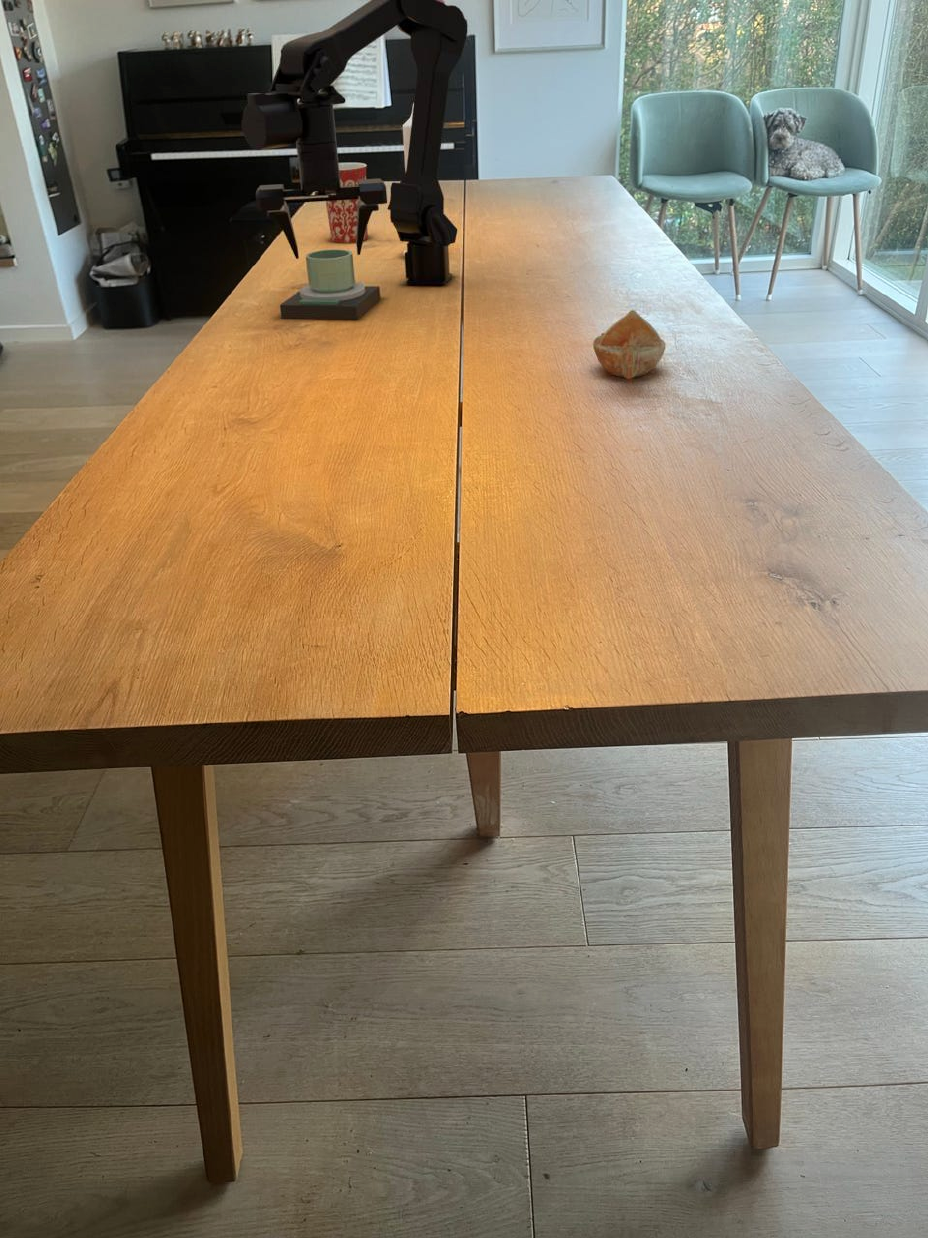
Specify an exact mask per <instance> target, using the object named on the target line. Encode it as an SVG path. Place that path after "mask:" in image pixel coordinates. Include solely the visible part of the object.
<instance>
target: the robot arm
mask: <svg viewBox="0 0 928 1238" xmlns="http://www.w3.org/2000/svg"><path fill="white" fill-rule="evenodd" d="M468 26H469V25H468V20H467V19H466V18H465V15H464V13H463V11H462V10H461V9H460V8H459V7H458V6H456V5H453V4H449V5H447V4H446V3H444V2H442V1H439V0H369V1H367V2H366V3H364V4H363V5H362V6H360V7H359V8H357V9H356V10H355V11H353V12H351V13H350V14H348V15H347V16H346V17H344V18H342V19H341V20H339V21H338V22H337V23H335V24H334V25H332V26H331V27H329V28H327V29H324V30H322V31H318V32H314V33H310V34H306V35H303V36H300V37H298V38H295V39H292V40H289V41H288V42H286V43H284V45H283V46H282V48H281V49H280V57H279V65H278V67H277V69H276V72H275V74H274V77H273V79H272V81H271V84H270V86H269V88H268V91H267V93H259V92H253V93H252V92H251V93H247V95H246V97H247V104H246V105H245V106H244V110H243V113H242V120H241V128H242V133H243V136H244V138H245V140H246V142H247V143H248V145H249V146H250V147H251V148H252V149H253V150H256V151H262V150H269V149H276V148H277V149H278V148H284V147H289V146H294V145H295V144H296V145H295V146H296V154H297V157H296V156H295V157H289V158H288V160H289V170H290V179H291V183H300V188H296V189H295V188H294V189H285V187H284V184H283V183H279V184H278V183H276V184H261V185H260V184H259V187H258V188H257V189H256V192H255V201H256V209H257V212H266V213H267V217H268V218H274V219H275V220H276V222H277V224H278V226H279V227H280V228H281V230H282V232H283V234H284V235H285V238H286V240H287V242H288V244H289V246H290V248H291V250H292V253H293V256H294V258H295V259H296V260H299V259H300V256H299V248H298V243H297V240H296V239H297V237H296V233H295V229H294V227H293V222H292V218H291V213H290V207H289V205H287V204H305V203H314V202H315V203H319V202H320V203H321V202H326V201H337V200H354V199H358V201H359V202H357V237H356V242H355V244H356V254H357V256H360V255H361V254H362V253H361V252H362V248H363V244H364V240H363V239H364V235H365V231H366V227H368V224H369V222H370V219H371V217H372V213H373V212H377V211H379V210H380V207H379V205H385V204H386V205H387V204H388V206H387V210H388V211H390V212H389V218H390V222H391V224H392V226H393V227H394V229H395V230H396V234H397V236H398V239H399V242H403V243H404V242H406V250H407V252H406V253H405V254H404V253H403V257H404V256H405V257H404V271H405V278H406V282H405V284H406V285H411V286H412V285H414V286H443V285H446V284H447V283H448V282H449V281H450V279H452V278H453V273H451V272H450V254H449V246H450V245H452V244H455V243H456V240H457V236H458V235H457V234H458V228H457V227H456V226H455V225H454V223H453V222H452V221H451V220H450V219H449V217H447V215H446V214H445V211H444V210H445V197H444V193H443V190H442V187H441V185H440V182H439V179H438V177H439V176H438V173H439V166H440V158H441V149H442V141H443V133H444V125H445V117H446V108H447V100H448V92H449V85H450V79H451V75H452V73H453V71H454V70H455V69H456V67H457V65H458V63H459V62H460V60H461V58H462V57H463V54H464V50H465V49H464V48H465V45H466V42H467V41H466V40H467V36H468ZM395 27H396V28H397V29H398V30H399V31H400V32H402V33H404V34H405V35H407V36H408V37H410V53H411V55H412V59H413V61H414V64H415V67H416V82H415V90H414V99H413V103H414V107H413V106H412V107H413V116H412V125H411V134H410V143H409V152H408V161H407V169H406V172H405V173H404V175H403V177H401V180H400V181H399V182H394V181H393V182H392V183H391V185H390V197H389V198H390V199H389V202H388V194H387V185H386V183H385V182H384V180H382V179H381V178H366V179H362V180H358V186H344V187H341V183H340V173H339V163H340V162H339V153H338V145H337V144H338V143H337V135H336V134H337V133H336V121H335V114H334V113H335V112H334V106H335V105H342V104H346V98H345V97H344V96H343V95H342V94H341V93H340V92H338V90H337V89H336V88H335V86H334V85H333V83H334V82H335V81H336V80H337V79H338V78H339V77H340V76H341V75H342V74H343V73H344V72H345V70H346V67H347V66H348V62H349V61H350V60H351V58H353V56H355V55H357V54H358V53H359V52H361V51H362V50H363V49H365V48H366V47H367V46H369V45H371V44H372V43H373V42H375V41H376V40H378V39H379V38H381V37H382V36H384V35H385V34H386V33H388V32H390V31H391V30H392V29H394V28H395ZM309 193H314V194H309ZM330 194H336V195H330Z"/></svg>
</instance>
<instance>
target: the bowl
mask: <svg viewBox="0 0 928 1238" xmlns="http://www.w3.org/2000/svg"><path fill="white" fill-rule="evenodd" d="M305 263H306V271H307V273H306V274H307V281H308V285H309V288H311V289H314V291H316V292H321V293H335V292H342V291H346V290H348V289H350V288H351V287H352V286H353V285H354V284H355V282H356V277H355V267H354V257H353V252H352V251H351V250H348V249H341V248H340V249H338V248H331V249H330V248H329V249H320V250H315V251H311V252H308V253H306V254H305Z"/></svg>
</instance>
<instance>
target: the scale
mask: <svg viewBox="0 0 928 1238" xmlns="http://www.w3.org/2000/svg"><path fill="white" fill-rule="evenodd" d="M380 300H381V289H380V286H378V285H377V286H375V285H365V284H364V283H362V282H359V281H355V284H354V285H353V286H352V287H351V288H350V289H348V290H346V291H342V292H335V293H321V292H316V291H314V289H311V288H309V284H307V285H305V286H303V287H301V288H300V289H299V291H297V292H296V293H294V294H293V295H291V296H290V297H288V298H287V299H286V300H285V301H283V302H282V303H280V304H279V309H280V316H281V319H298V320H299V319H300V320H301V319H302V320H338V321H339V320H343V321H344V320H345V321H358V320H359V319H360V318H361V317H362V316H364V315H365V314H366V313H367V312H369V310H370V309H371V308H373V306H375V304H377V303H378V302H379V301H380Z"/></svg>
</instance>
